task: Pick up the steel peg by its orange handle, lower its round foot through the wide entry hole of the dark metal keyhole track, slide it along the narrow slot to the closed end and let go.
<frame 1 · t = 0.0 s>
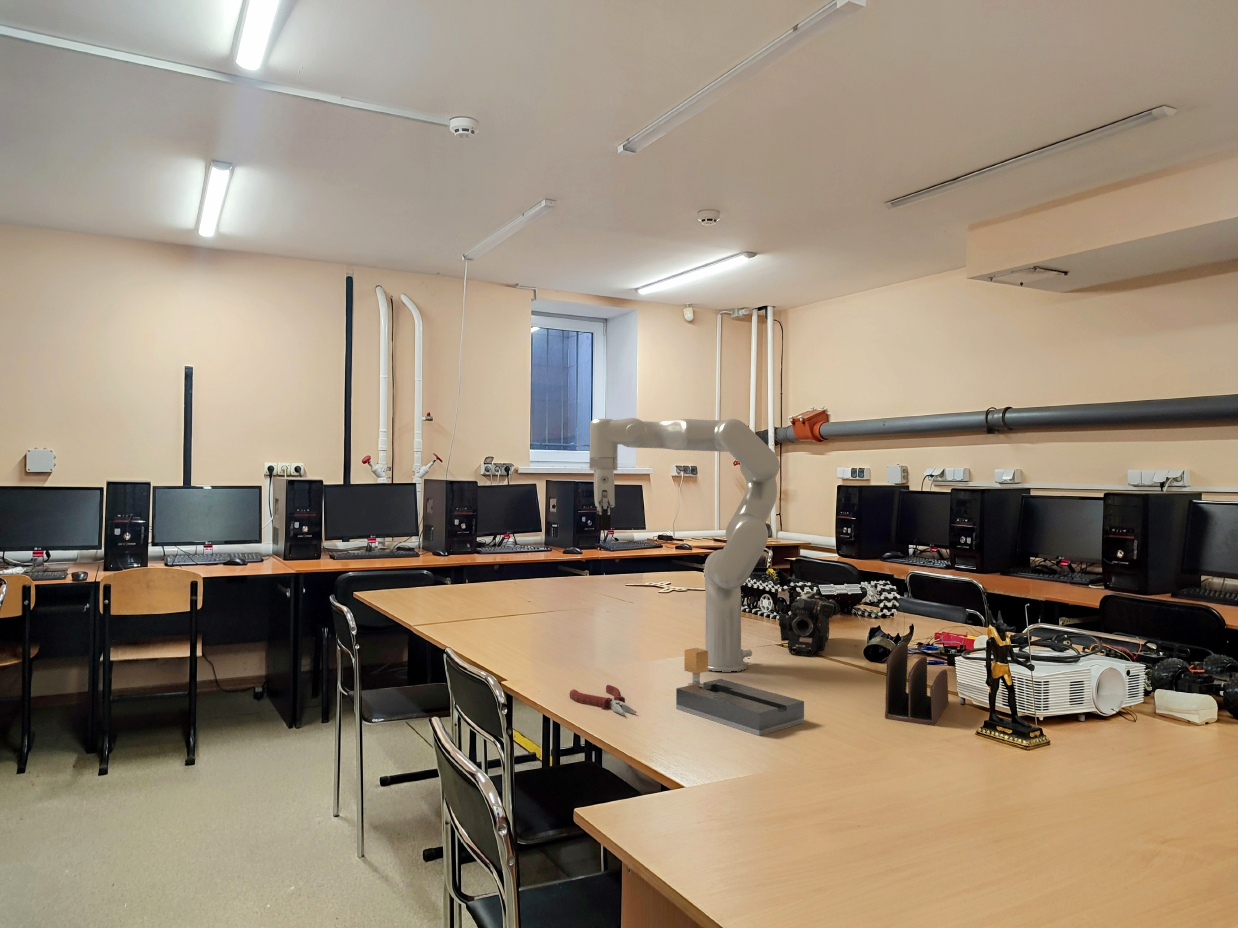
hand: (603, 529, 217), 37 cm above the table, tool pointing down, fingers open, 9 cm apart
letter holder: (917, 712, 179), on the table
keyhole track: (738, 715, 174), on the table
movie camera: (813, 649, 243), on the table
pliers: (600, 707, 182), on the table
peg: (696, 689, 196), on the table
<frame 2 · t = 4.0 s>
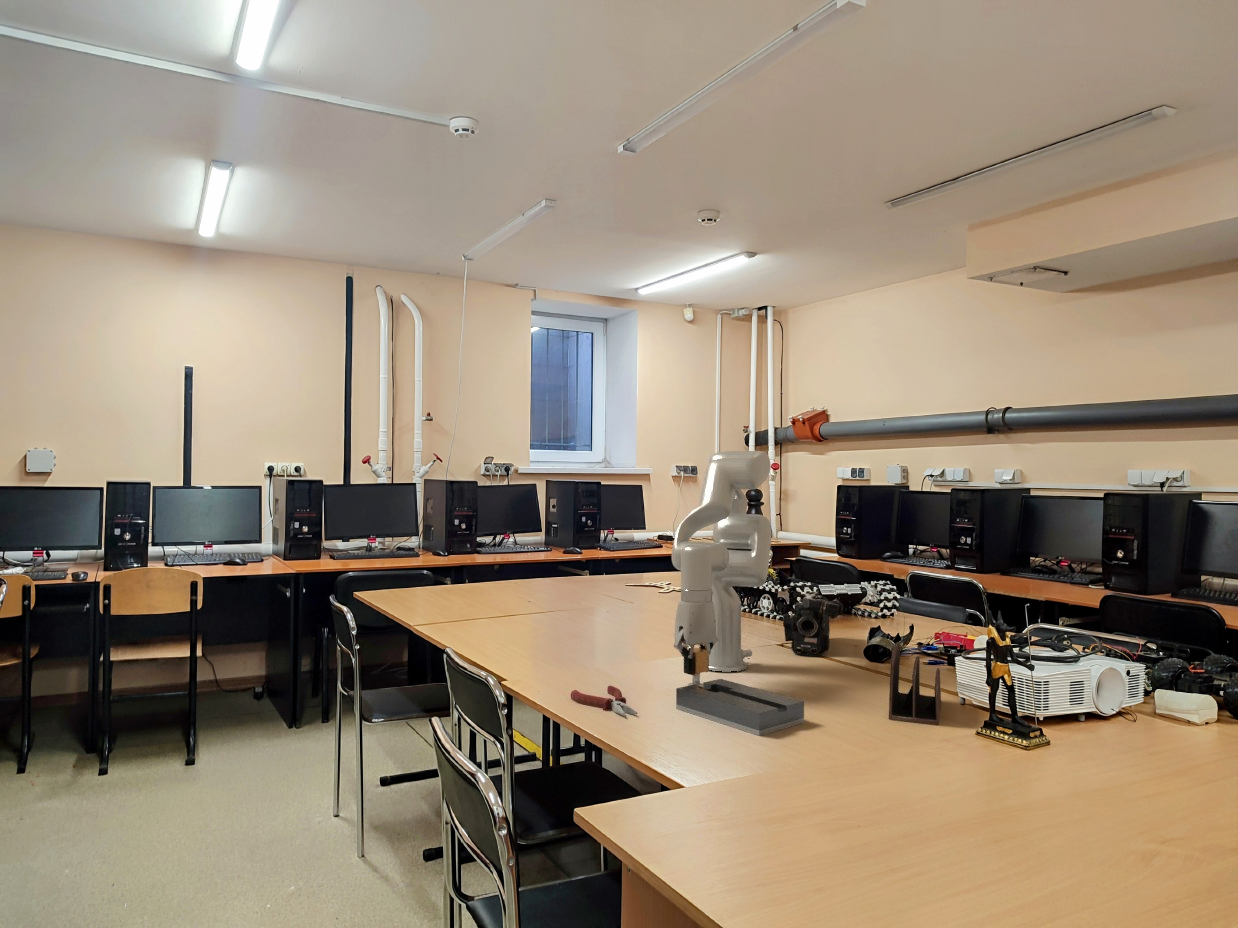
hand: (696, 671, 196), 4 cm above the table, tool pointing down, fingers closed on peg, 4 cm apart
peg: (696, 689, 196), on the table, touching gripper
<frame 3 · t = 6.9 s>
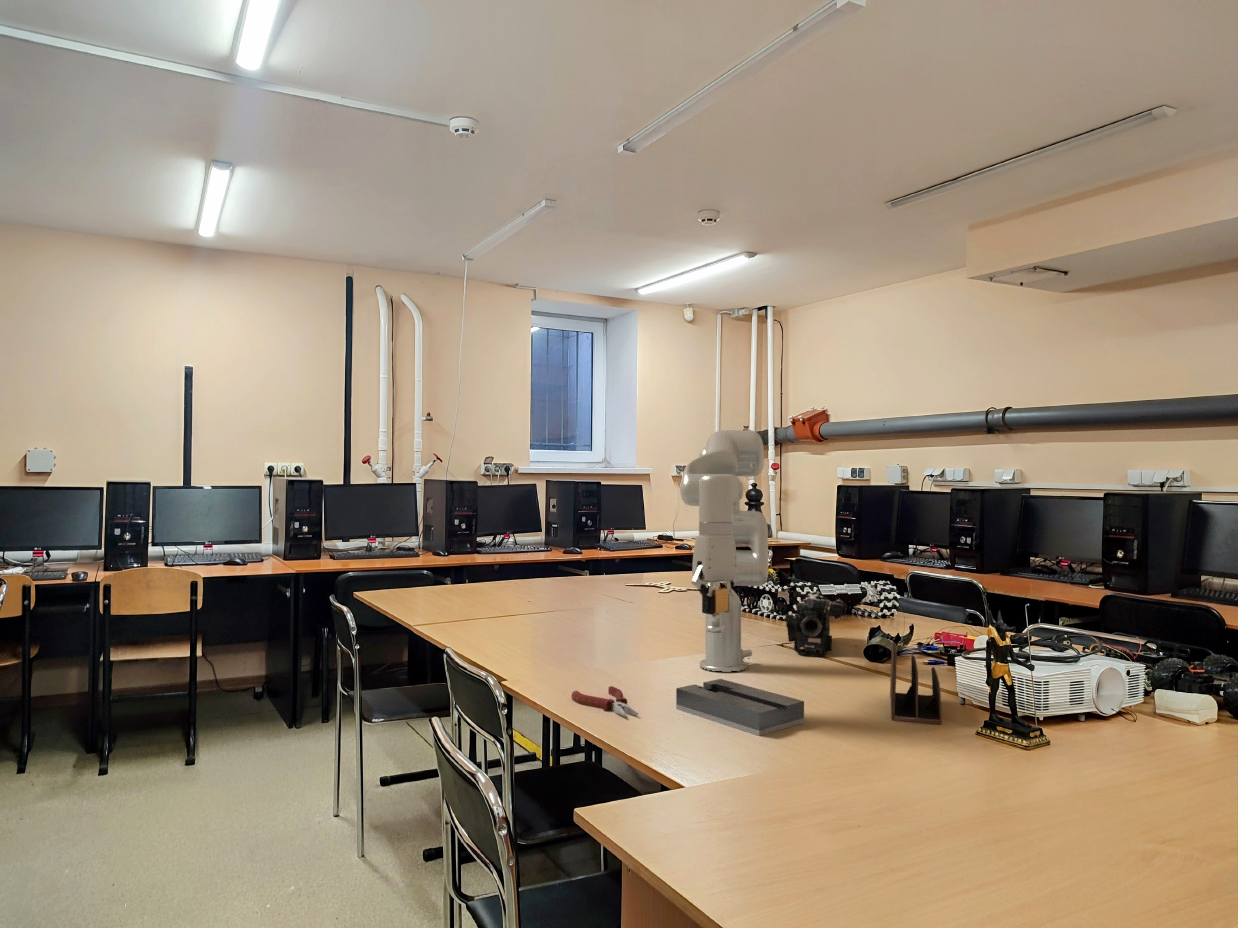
hand: (715, 611, 180), 21 cm above the table, tool pointing down, fingers closed on peg, 4 cm apart
peg: (715, 631, 180), point 17 cm above the table, touching gripper
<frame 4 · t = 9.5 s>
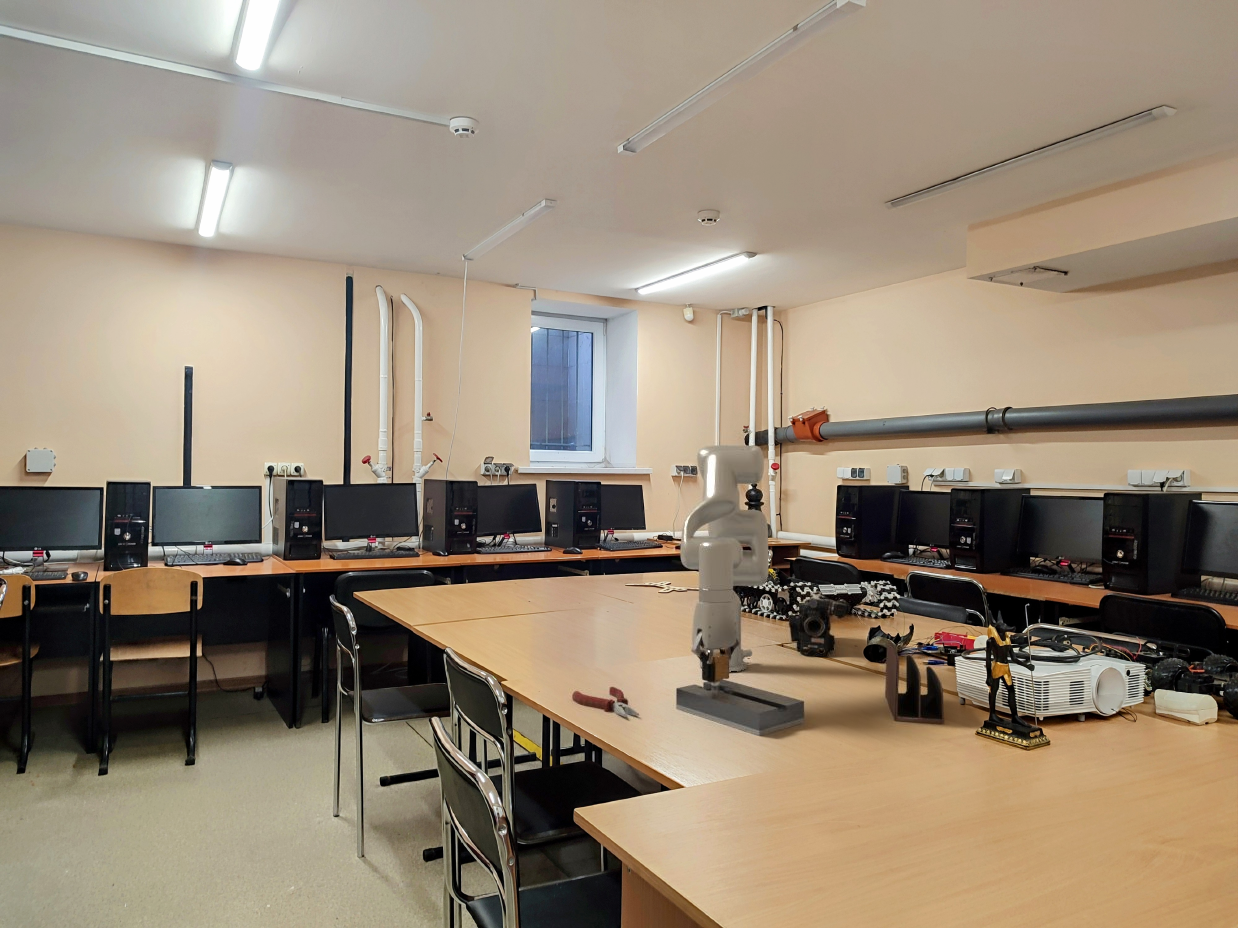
hand: (715, 678, 180), 7 cm above the table, tool pointing down, fingers closed on peg, 4 cm apart
peg: (715, 697, 180), point 2 cm above the table, touching gripper
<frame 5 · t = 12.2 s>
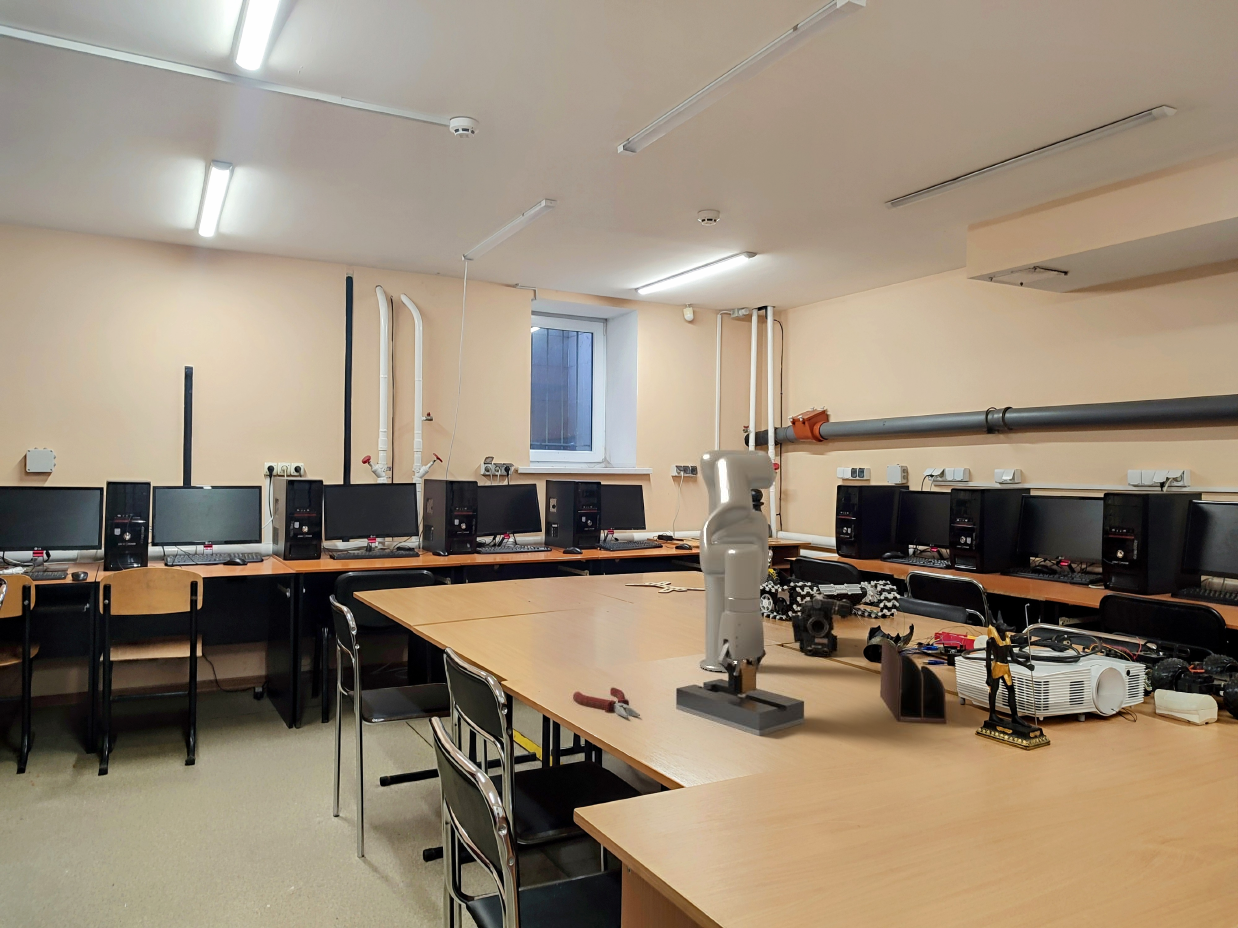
hand: (742, 690, 174), 6 cm above the table, tool pointing down, fingers closed on peg, 4 cm apart
peg: (742, 710, 174), point 1 cm above the table, touching gripper
when the fingers open (6 cm above the table, at t = 14.9 s): peg stays where it is, resting on keyhole track.
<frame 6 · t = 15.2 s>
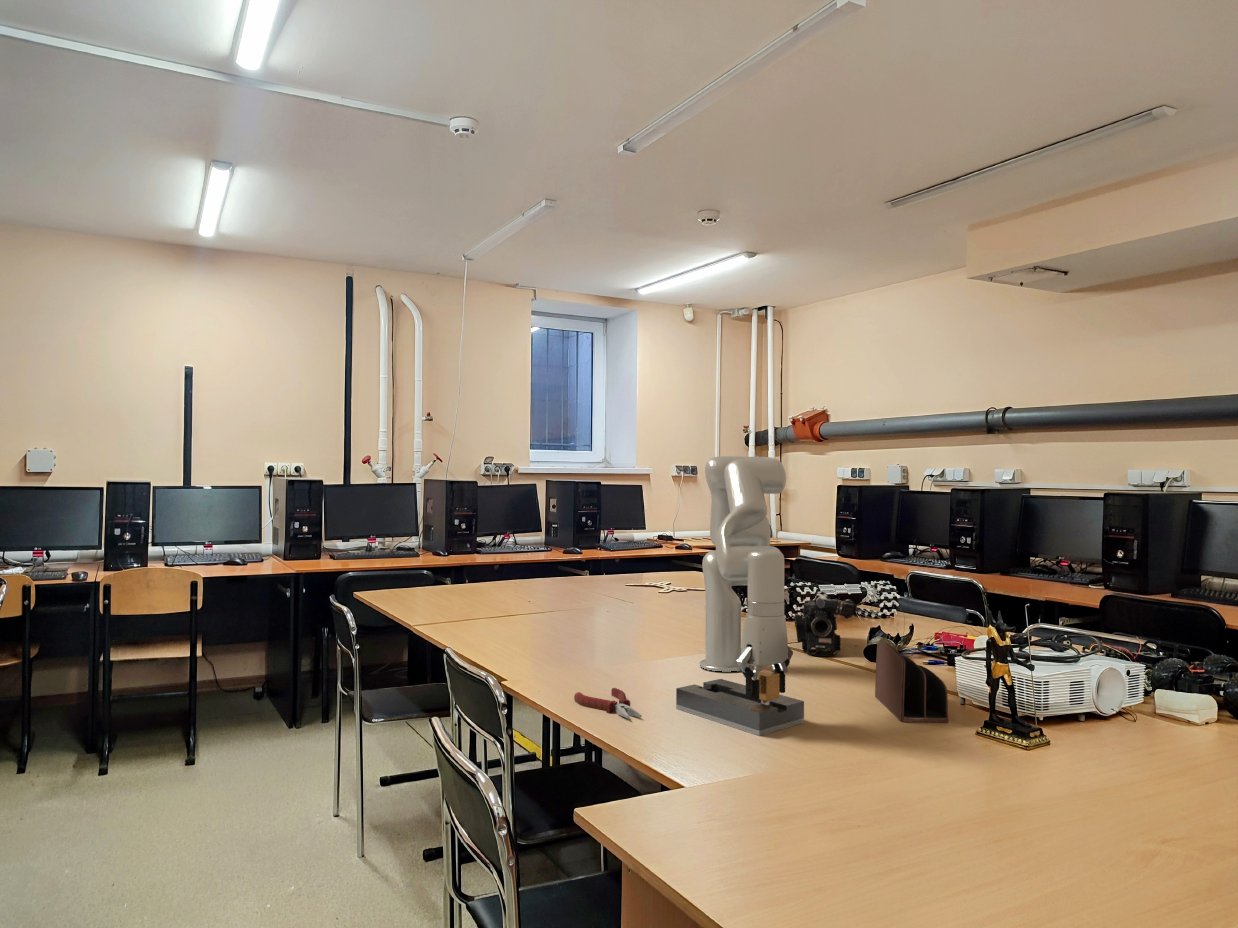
hand: (765, 694, 169), 6 cm above the table, tool pointing down, fingers open, 7 cm apart
peg: (765, 718, 169), point 1 cm above the table, touching keyhole track
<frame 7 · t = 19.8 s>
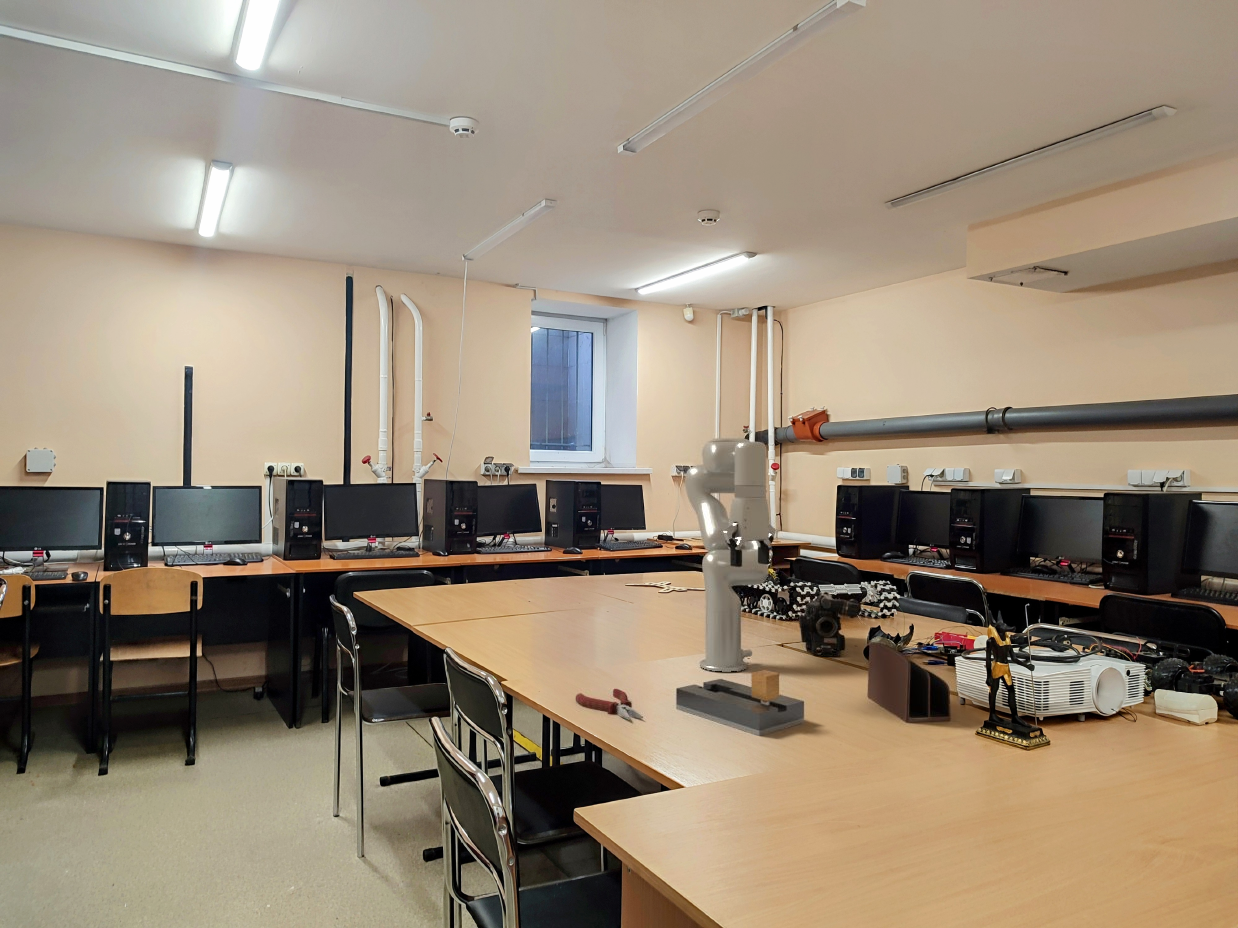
hand: (750, 565, 194), 30 cm above the table, tool pointing down, fingers open, 9 cm apart
at the end: peg 0.6 cm from the target spot on the keyhole track, point 1.0 cm above the keyhole track's base; the gripper is holding nothing; peg tilted 1° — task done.
